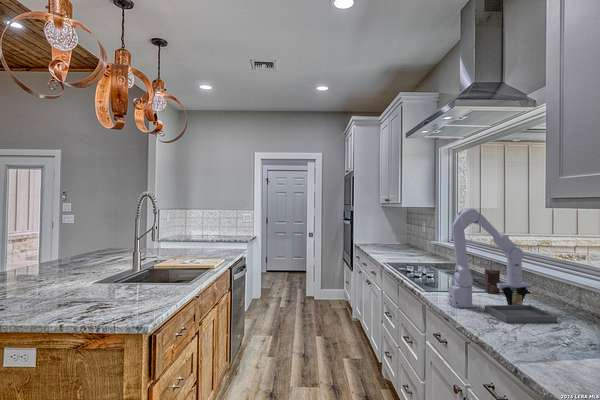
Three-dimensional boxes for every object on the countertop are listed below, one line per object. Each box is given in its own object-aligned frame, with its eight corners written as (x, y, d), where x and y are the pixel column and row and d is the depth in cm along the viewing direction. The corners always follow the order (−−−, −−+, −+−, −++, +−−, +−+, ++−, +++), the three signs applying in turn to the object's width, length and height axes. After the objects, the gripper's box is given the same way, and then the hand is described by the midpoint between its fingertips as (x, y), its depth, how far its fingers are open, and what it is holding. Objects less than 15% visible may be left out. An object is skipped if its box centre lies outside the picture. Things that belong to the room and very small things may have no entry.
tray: (505, 323, 142) (505, 316, 142) (484, 311, 158) (484, 305, 158) (557, 322, 142) (557, 316, 142) (530, 310, 158) (530, 305, 158)
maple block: (512, 309, 161) (512, 295, 161) (507, 306, 165) (507, 293, 165) (521, 309, 161) (521, 295, 161) (516, 306, 165) (516, 293, 165)
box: (488, 293, 189) (488, 270, 189) (484, 291, 194) (484, 268, 194) (500, 293, 189) (500, 270, 189) (496, 291, 193) (496, 268, 194)
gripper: (503, 275, 159) (503, 307, 159) (536, 275, 160) (536, 306, 159) (494, 272, 166) (494, 302, 166) (526, 272, 167) (526, 302, 166)
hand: (514, 304), depth 163 cm, fingers closed on maple block, 4 cm apart
